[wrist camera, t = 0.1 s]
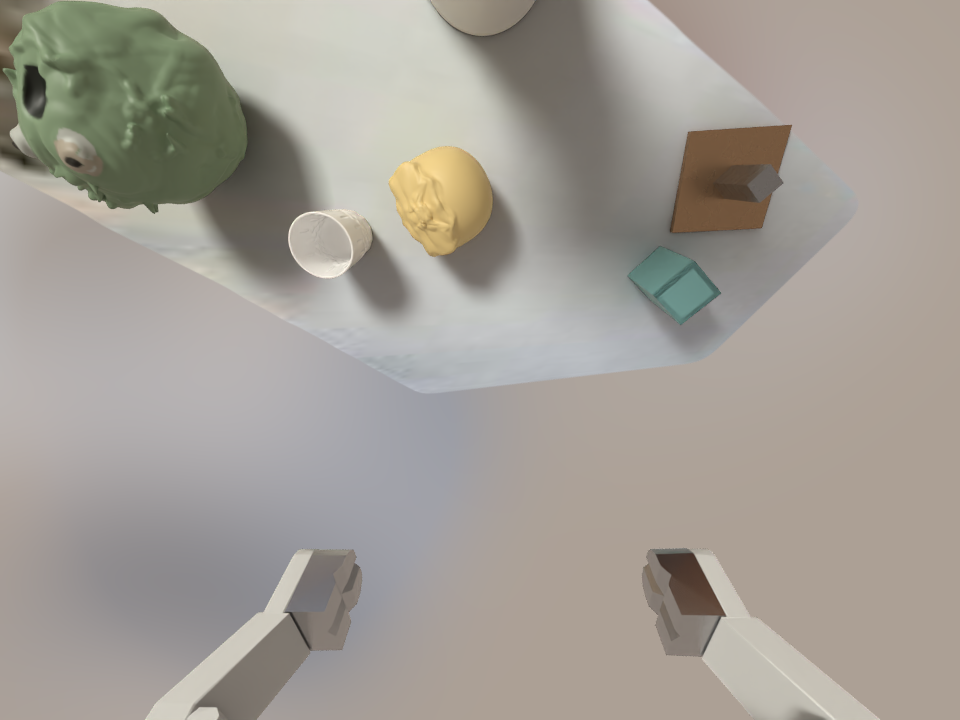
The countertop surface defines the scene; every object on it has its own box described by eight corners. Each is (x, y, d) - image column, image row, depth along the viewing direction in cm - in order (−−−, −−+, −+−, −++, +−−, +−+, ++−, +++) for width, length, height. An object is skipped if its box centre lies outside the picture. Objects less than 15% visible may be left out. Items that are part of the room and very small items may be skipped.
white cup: (363, 197, 50) (336, 203, 41) (385, 253, 54) (363, 269, 45) (313, 213, 51) (275, 222, 42) (337, 267, 55) (307, 285, 46)
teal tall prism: (627, 275, 54) (653, 295, 45) (660, 246, 52) (694, 261, 43) (650, 300, 55) (680, 324, 47) (683, 273, 53) (721, 293, 44)
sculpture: (390, 179, 49) (365, 181, 39) (467, 131, 46) (460, 120, 36) (433, 255, 53) (420, 273, 44) (505, 216, 51) (508, 226, 41)
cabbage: (290, 82, 44) (153, 21, 26) (259, 225, 52) (139, 252, 34) (156, 4, 41) (-99, -123, 23) (145, 168, 49) (-51, 166, 32)
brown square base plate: (632, 187, 48) (656, 190, 41) (751, 68, 42) (803, 47, 35) (703, 272, 53) (735, 287, 46) (819, 176, 47) (877, 177, 40)
